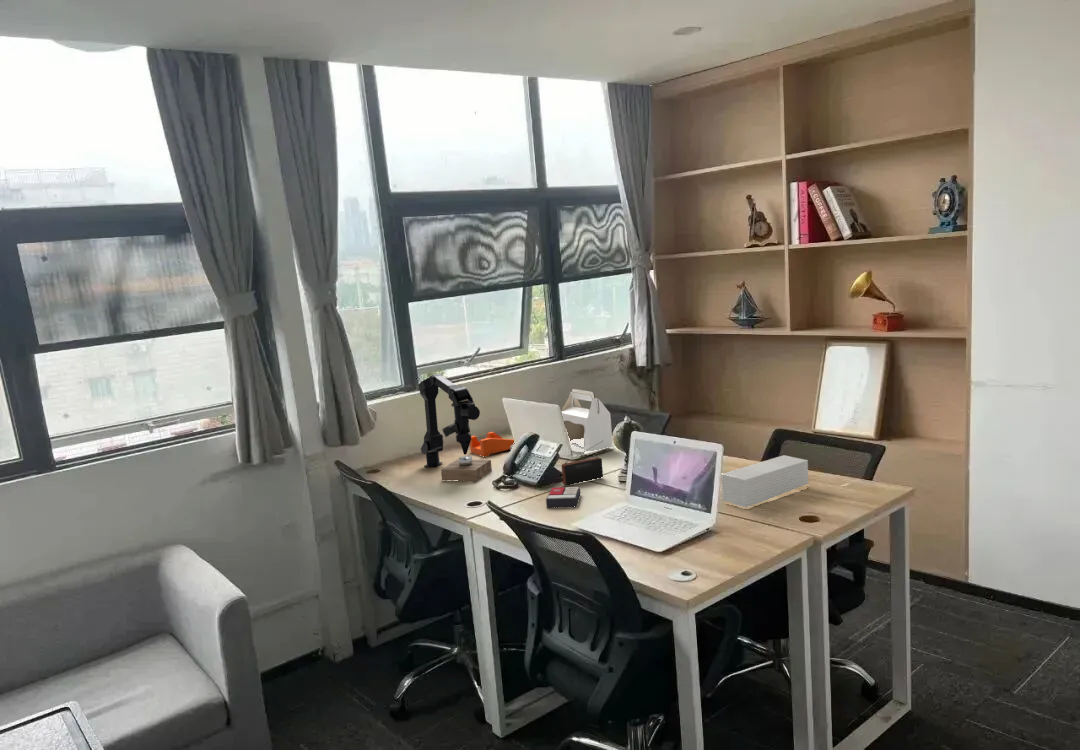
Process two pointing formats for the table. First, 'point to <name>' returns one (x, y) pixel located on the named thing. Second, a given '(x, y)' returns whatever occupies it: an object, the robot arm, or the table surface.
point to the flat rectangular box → (563, 497)
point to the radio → (582, 470)
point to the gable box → (587, 421)
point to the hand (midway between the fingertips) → (465, 453)
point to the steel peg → (465, 461)
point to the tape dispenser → (489, 444)
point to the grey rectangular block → (764, 480)
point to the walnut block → (466, 470)
